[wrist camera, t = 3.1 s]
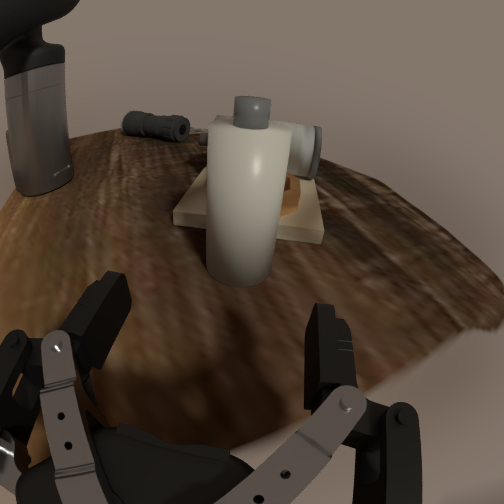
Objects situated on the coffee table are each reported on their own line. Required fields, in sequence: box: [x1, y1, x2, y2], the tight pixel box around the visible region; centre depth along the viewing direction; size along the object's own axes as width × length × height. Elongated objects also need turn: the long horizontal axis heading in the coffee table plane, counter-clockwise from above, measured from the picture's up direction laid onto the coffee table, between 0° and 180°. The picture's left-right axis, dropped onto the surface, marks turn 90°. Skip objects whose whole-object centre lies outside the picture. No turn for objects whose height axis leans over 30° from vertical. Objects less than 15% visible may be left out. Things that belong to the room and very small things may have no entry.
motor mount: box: [173, 115, 324, 244], centre depth 31 cm, size 15×17×8 cm
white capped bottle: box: [206, 96, 292, 287], centre depth 20 cm, size 5×5×13 cm
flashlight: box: [121, 111, 190, 142], centre depth 52 cm, size 15×5×5 cm, turn 64°
